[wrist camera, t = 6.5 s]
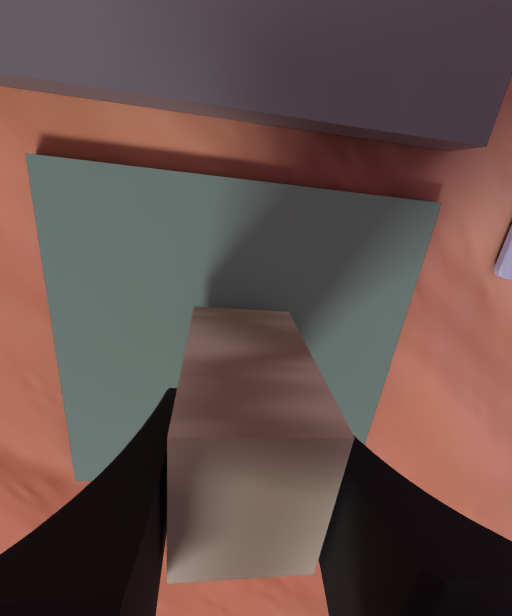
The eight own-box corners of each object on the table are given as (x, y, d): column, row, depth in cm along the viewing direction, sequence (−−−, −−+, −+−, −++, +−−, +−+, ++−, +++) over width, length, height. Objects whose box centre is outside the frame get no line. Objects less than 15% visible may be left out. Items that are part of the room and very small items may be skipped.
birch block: (288, 311, 13) (354, 437, 7) (273, 405, 15) (313, 574, 9) (194, 306, 13) (167, 437, 6) (190, 404, 15) (166, 583, 8)
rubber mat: (432, 202, 14) (441, 203, 13) (350, 467, 19) (354, 476, 19) (34, 154, 11) (25, 153, 11) (80, 471, 17) (75, 481, 17)
